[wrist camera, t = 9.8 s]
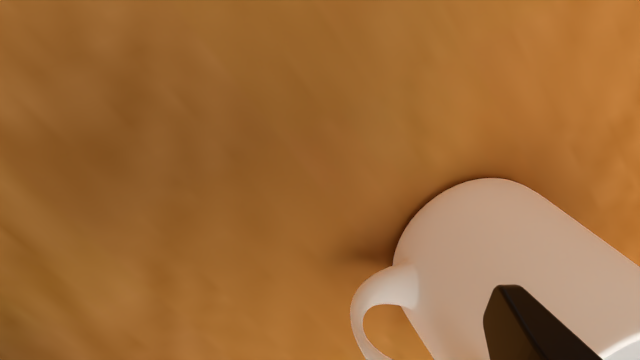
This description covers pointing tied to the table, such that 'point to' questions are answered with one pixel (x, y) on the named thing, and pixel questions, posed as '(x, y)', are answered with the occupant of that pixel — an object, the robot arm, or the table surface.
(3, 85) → the table surface
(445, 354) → the mug
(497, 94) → the table surface
